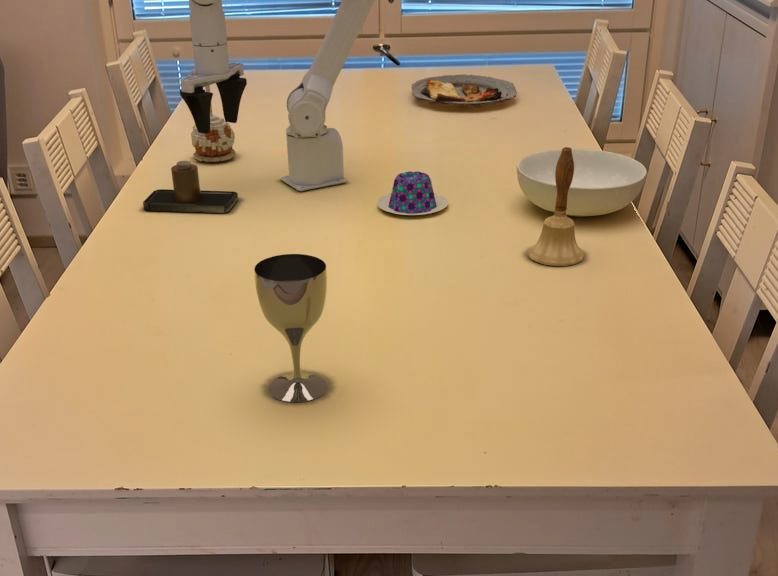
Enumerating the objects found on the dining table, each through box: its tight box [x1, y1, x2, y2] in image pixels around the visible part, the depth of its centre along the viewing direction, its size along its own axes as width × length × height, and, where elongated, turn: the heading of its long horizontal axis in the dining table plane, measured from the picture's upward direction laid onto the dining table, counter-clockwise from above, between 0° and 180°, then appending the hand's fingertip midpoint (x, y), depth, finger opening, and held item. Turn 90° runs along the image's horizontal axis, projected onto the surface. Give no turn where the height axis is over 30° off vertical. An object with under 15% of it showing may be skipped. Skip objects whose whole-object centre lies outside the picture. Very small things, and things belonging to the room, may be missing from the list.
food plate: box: [411, 73, 518, 107], centre depth 230 cm, size 25×23×4 cm
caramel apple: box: [190, 85, 236, 163], centre depth 193 cm, size 8×8×15 cm
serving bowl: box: [516, 148, 648, 218], centre depth 168 cm, size 21×21×7 cm
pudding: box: [376, 171, 449, 216], centre depth 171 cm, size 12×12×5 cm
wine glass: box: [253, 253, 329, 403], centre depth 117 cm, size 8×8×15 cm
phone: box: [142, 188, 239, 214], centre depth 175 cm, size 8×1×15 cm
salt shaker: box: [170, 160, 201, 204], centre depth 173 cm, size 4×4×7 cm
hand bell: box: [527, 146, 585, 267], centre depth 149 cm, size 8×8×16 cm
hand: (217, 127), depth 177 cm, fingers open, 7 cm apart
